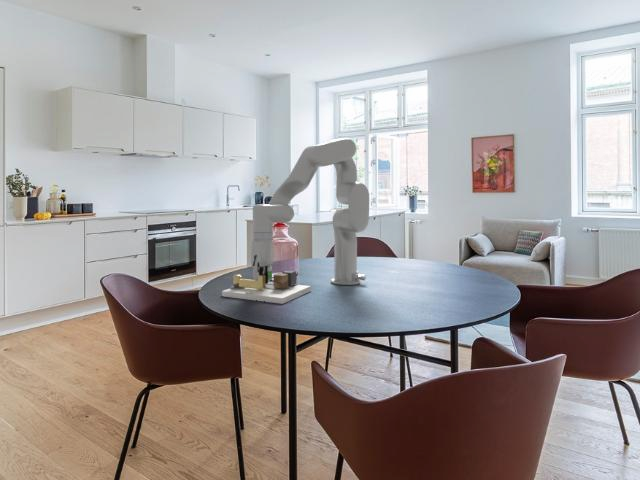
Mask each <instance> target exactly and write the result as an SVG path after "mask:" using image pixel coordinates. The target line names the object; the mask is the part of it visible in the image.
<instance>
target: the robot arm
mask: <svg viewBox="0 0 640 480" xmlns="http://www.w3.org/2000/svg"><path fill="white" fill-rule="evenodd" d="M356 152H357V145H356V143H355V142H354V141H353V140H352V139H351V138H347V137H344V138H343V137H342V138H337V139H331V140H329V141H327V142H326V143H321V144H320V143H319V144H315V145H309V146H307V147H305V148H304V149H303V150H302V152H301V154H300V156H299V158H298V159H297V161H296V163H295V165H294V167H293V168H292V170H291V172H290V174H289V175H288V177H287V178H286V179H285V180H284V181H283V183H281V184H280V186H279V187H278V188H277V189H276V190H275V192H274V193H273V195H272V197H271V198H270V200H269V202H268V204H267V203H260V204H259V203H258V204H254V205H253V207H252V241H251V250H250V266H251V267H253V266H255V267H254V270H257V271H258V274H259V275H265V283H266V284H267V283H268V273H269V268H270V267H271V266H272V267H273V263H274V261H275V249H274V241H273V238H274V236H273V235H274V233H273V230H274V228H273V226H274V225H273V223H279V224H286V223H289V222H291V221H292V220H293V219H294V216H295V211H294V208H293V207H292V206H291V205H289V203H290V202H291V201H292V200H293V199H294V198H295V197H296V196H297V195H299V194H300V193H302V192H304V191H305V190H306V189H308V187H309V185H310V184H311V182H312V180H313V178H314V176H315V174H316V173H317V172H318V169H319V168H322V167H327V166H332V165H333V166H334V168H335V175H336V184H335V186H336V187H335V188H336V189H335V194H336V195H335V196H336V197H335V198H336V200H337V202H338V203H339V204H341V205H345V206H348V208H347V207H344V208H339V209H337V210H336V211H335V212H334V214H333V216H332V227H333V236H334V255H333V256H334V266H333V267H334V272H333V273H334V275H333V278H331V279H330V283H331V284H333V285H338V286H352V285H353V286H354V285H358V284H360V283H361V281H366V280H367V279H366V275H365V274H360V271H358V268H357V267H358V264H357V263H358V237H357V233H362V232H364V231H365V230H366V228H367V227H368V225H369V219H370V192H369V189H368V187H367V186H366V185H365V184H364V183H362V182H358V171H357V165H356V162H355V161H354V159H353V157H354V156H355V155H356Z"/></svg>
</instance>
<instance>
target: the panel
mask: <svg viewBox="0 0 640 480" xmlns="http://www.w3.org/2000/svg"><path fill="white" fill-rule="evenodd" d="M310 292H312V286H311V285H304V284H303V285H301V284H297V283H296V284H294V285H292V286H290V285H288V287H286V288H284V289H279V288H274V281H268V283H267V284H266V289H264V290H260V289H252V288H243V287H234V285H231V286H229V288H227V289H224V290H221V295H222V297H226V298H234V299H241V300H249V301H250V300H251V301H256V300H257V301H256V302H264V301H265V303H273V304H281V305H282V304H286V303H287V302H290V301H291V300H294V299H297V298H299V297H301V296H303V295H305V294H307V293H310Z"/></svg>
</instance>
